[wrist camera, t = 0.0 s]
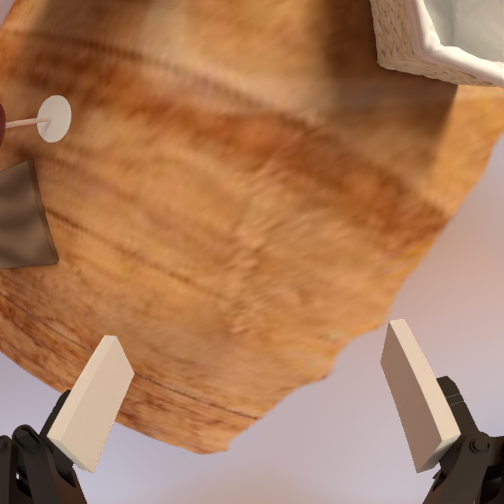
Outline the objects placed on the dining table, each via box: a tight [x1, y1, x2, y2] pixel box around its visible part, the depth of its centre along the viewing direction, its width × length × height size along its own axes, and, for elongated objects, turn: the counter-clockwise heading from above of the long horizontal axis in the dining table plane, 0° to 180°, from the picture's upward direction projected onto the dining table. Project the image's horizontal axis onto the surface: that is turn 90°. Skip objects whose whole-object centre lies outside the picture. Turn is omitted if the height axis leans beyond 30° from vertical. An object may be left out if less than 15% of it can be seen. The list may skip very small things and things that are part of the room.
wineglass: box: [0, 95, 71, 146], centre depth 25 cm, size 8×9×20 cm
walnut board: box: [0, 159, 59, 269], centre depth 41 cm, size 18×18×2 cm
